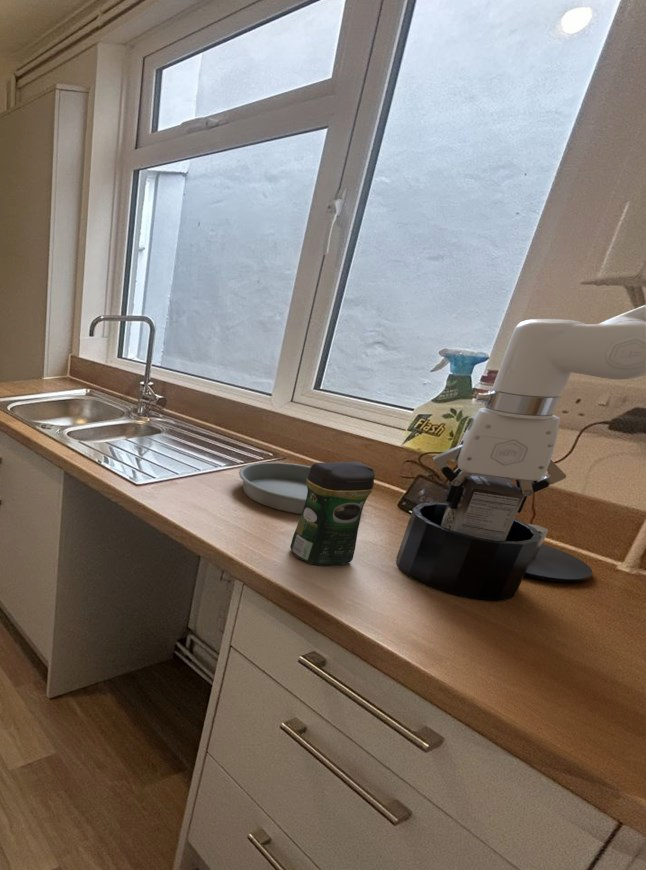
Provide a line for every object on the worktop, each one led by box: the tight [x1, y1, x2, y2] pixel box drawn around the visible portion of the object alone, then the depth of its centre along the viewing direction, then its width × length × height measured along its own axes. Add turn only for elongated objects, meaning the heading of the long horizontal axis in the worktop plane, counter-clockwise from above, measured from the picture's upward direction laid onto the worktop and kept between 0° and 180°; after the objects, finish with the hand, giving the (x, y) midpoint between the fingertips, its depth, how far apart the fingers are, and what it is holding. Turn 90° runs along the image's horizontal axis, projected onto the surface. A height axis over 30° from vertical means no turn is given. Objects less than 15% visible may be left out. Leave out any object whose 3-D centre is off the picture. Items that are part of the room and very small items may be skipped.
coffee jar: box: [289, 461, 376, 566], centre depth 95 cm, size 10×8×19 cm
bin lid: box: [524, 523, 593, 583], centre depth 95 cm, size 17×17×7 cm
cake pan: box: [238, 461, 311, 515], centre depth 123 cm, size 25×25×4 cm
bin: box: [396, 501, 542, 602], centre depth 90 cm, size 16×16×10 cm
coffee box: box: [440, 474, 524, 541], centre depth 88 cm, size 9×6×16 cm
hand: (479, 509), depth 87 cm, fingers closed on coffee box, 6 cm apart
